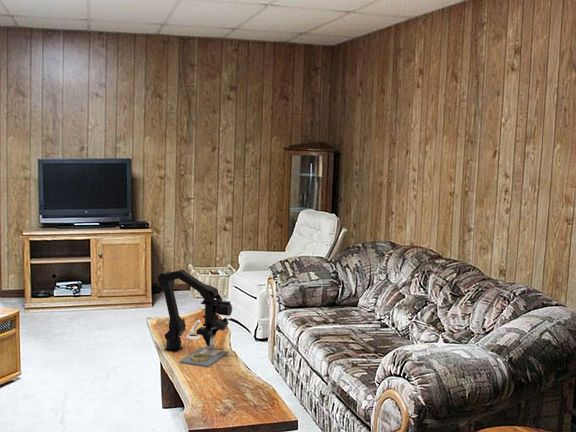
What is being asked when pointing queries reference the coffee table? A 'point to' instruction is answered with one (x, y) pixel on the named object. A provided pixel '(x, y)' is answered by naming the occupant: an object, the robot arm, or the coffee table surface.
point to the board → (204, 364)
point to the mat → (210, 352)
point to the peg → (211, 343)
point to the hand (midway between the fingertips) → (210, 344)
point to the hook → (194, 332)
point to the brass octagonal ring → (195, 359)
